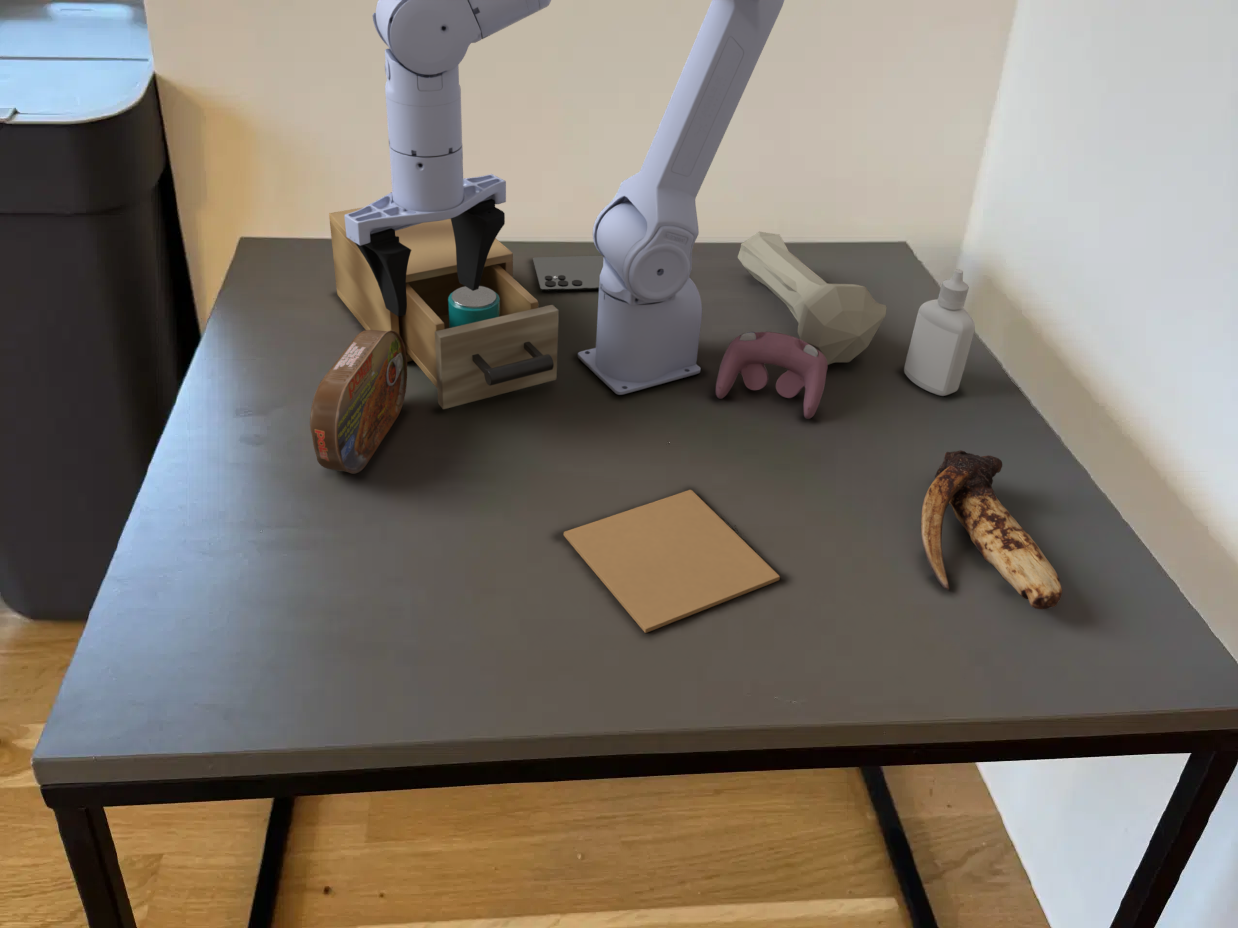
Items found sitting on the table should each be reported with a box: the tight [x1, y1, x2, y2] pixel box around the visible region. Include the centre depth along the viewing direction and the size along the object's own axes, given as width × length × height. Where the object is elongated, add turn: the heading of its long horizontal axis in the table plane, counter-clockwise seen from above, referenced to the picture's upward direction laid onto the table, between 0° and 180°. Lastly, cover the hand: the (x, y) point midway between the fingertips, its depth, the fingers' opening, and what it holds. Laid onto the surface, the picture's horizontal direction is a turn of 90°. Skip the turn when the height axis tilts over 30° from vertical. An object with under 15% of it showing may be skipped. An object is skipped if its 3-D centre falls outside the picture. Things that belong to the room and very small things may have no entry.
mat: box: [563, 489, 781, 634], centre depth 85 cm, size 12×12×1 cm
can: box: [448, 286, 500, 328], centre depth 101 cm, size 5×5×6 cm
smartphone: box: [532, 255, 604, 292], centre depth 122 cm, size 8×1×16 cm
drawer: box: [398, 264, 560, 410], centre depth 101 cm, size 19×11×7 cm, turn 31°
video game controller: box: [715, 331, 829, 420], centre depth 103 cm, size 10×5×7 cm, turn 71°
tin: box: [309, 329, 408, 474], centre depth 92 cm, size 15×3×8 cm, turn 168°
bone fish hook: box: [920, 449, 1063, 610], centre depth 86 cm, size 9×5×18 cm
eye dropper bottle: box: [903, 268, 976, 397], centre depth 104 cm, size 4×6×12 cm
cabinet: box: [328, 206, 514, 363], centre depth 110 cm, size 16×13×9 cm
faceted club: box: [737, 231, 888, 366], centre depth 115 cm, size 9×8×25 cm
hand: (433, 298), depth 95 cm, fingers open, 7 cm apart
